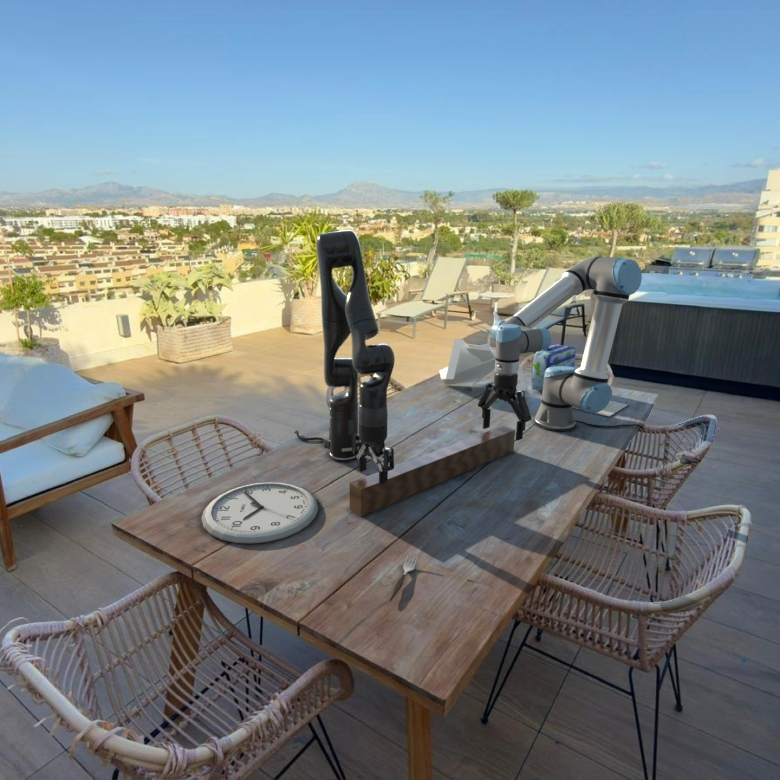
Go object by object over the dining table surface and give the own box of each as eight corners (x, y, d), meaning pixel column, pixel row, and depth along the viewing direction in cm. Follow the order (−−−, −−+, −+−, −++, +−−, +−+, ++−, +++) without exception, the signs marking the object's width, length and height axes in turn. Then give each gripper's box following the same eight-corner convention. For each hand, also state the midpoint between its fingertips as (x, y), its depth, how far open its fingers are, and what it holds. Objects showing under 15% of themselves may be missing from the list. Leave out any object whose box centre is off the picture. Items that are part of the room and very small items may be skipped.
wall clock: (315, 535, 126) (186, 539, 123) (315, 541, 126) (187, 545, 123) (320, 478, 154) (216, 480, 152) (320, 483, 155) (216, 485, 152)
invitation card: (608, 416, 214) (573, 407, 224) (608, 416, 214) (573, 408, 224) (628, 404, 229) (594, 396, 238) (628, 405, 229) (594, 397, 238)
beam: (501, 446, 183) (503, 425, 180) (513, 451, 179) (515, 429, 177) (349, 509, 141) (349, 482, 139) (361, 516, 137) (361, 489, 135)
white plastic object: (461, 429, 252) (437, 405, 227) (444, 352, 274) (420, 323, 250) (535, 404, 240) (518, 377, 215) (510, 326, 262) (492, 293, 237)
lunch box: (547, 397, 237) (552, 352, 231) (526, 391, 245) (531, 348, 238) (574, 386, 255) (580, 344, 249) (554, 381, 262) (559, 340, 256)
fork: (383, 601, 106) (384, 593, 106) (408, 557, 120) (408, 550, 120) (396, 605, 105) (396, 596, 105) (419, 560, 120) (419, 552, 119)
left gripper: (344, 416, 138) (345, 471, 143) (379, 432, 128) (379, 491, 133) (366, 409, 142) (366, 463, 148) (402, 425, 132) (400, 482, 138)
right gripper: (469, 367, 176) (466, 425, 183) (532, 383, 158) (526, 447, 165) (483, 363, 181) (480, 420, 187) (546, 378, 163) (540, 441, 169)
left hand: (372, 476), depth 140 cm, fingers open, 8 cm apart
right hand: (502, 433), depth 176 cm, fingers open, 13 cm apart
